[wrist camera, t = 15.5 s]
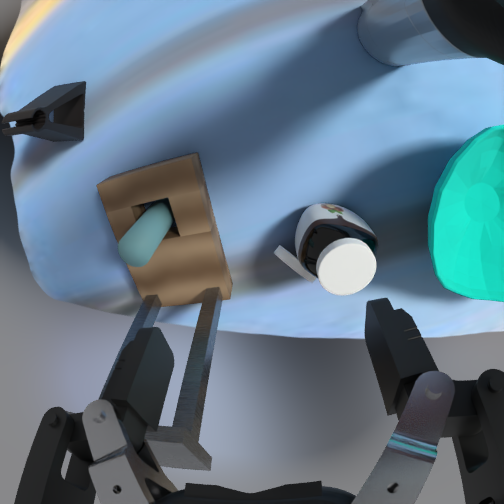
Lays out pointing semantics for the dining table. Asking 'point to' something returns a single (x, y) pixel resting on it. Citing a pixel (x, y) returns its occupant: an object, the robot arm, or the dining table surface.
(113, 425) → the robot arm
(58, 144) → the dining table surface
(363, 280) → the spread jar
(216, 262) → the sheltered socket
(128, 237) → the peg
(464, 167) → the table top decor
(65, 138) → the phone stand
